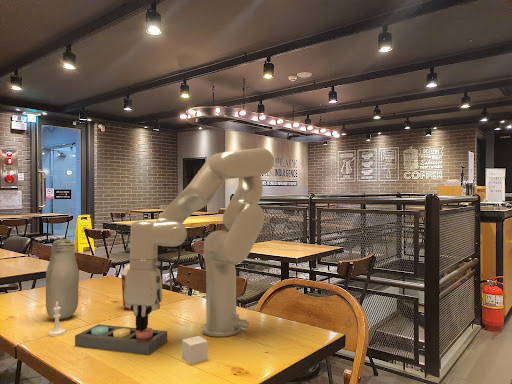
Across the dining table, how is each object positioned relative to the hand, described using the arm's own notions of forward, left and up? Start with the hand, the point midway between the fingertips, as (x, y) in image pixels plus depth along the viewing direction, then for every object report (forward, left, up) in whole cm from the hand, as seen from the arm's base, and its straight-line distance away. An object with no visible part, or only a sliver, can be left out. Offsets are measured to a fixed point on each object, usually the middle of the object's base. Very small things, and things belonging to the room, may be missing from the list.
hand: (141, 329), depth 107 cm
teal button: (+14, -1, -4) cm, 15 cm away
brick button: (-1, -1, -3) cm, 3 cm away
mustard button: (+7, -1, -4) cm, 8 cm away
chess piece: (+32, -3, -5) cm, 32 cm away
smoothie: (+25, -33, -5) cm, 41 cm away
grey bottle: (+42, -16, -5) cm, 45 cm away
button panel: (+7, -1, -5) cm, 9 cm away
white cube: (-18, +3, -5) cm, 19 cm away
